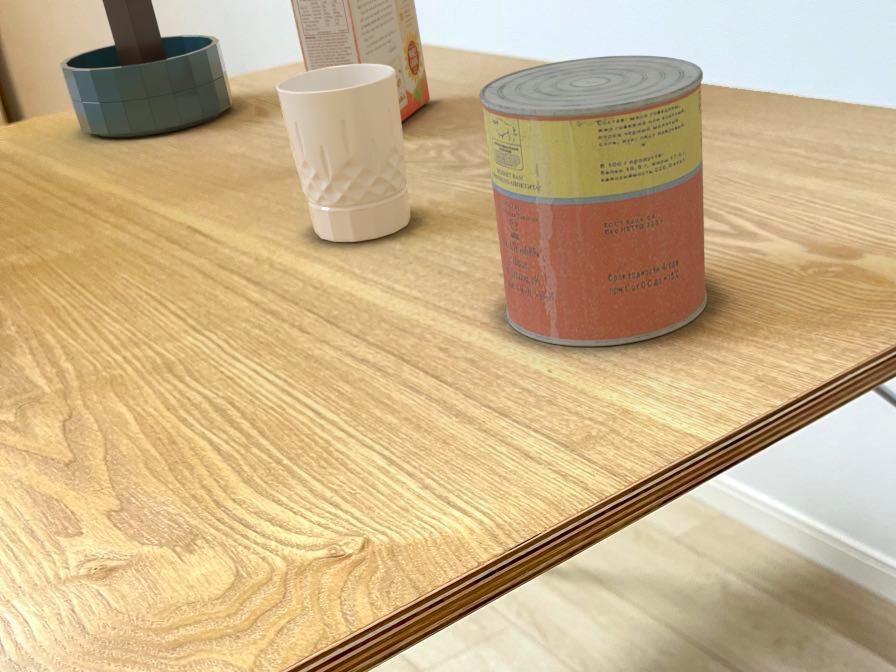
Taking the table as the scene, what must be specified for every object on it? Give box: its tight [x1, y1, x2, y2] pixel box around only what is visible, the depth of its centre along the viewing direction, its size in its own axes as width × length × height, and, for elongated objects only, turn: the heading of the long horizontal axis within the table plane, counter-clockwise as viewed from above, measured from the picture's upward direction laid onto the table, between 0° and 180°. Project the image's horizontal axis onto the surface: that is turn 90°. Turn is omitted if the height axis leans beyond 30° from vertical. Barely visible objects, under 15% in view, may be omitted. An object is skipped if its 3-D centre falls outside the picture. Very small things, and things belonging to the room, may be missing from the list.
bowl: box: [59, 34, 234, 139], centre depth 114 cm, size 15×15×6 cm
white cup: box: [274, 64, 412, 243], centre depth 78 cm, size 8×8×10 cm
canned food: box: [478, 55, 708, 347], centre depth 61 cm, size 11×11×12 cm
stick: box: [101, 0, 167, 66], centre depth 112 cm, size 3×3×14 cm
